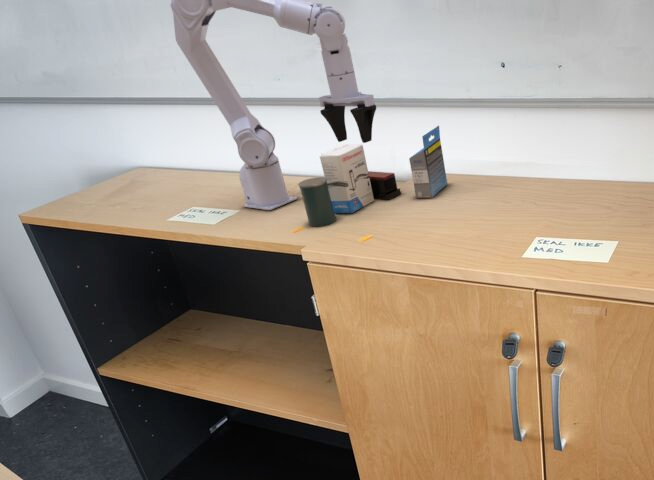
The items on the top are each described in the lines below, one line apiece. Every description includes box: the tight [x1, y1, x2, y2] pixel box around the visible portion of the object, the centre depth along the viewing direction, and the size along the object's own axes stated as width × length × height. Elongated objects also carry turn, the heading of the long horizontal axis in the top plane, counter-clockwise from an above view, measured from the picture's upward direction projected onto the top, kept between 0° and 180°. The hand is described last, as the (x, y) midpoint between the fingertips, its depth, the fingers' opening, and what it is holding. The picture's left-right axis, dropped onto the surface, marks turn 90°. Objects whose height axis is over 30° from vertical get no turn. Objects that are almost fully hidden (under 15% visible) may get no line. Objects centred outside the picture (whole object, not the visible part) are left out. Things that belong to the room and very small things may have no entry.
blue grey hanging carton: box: [408, 125, 448, 199], centre depth 139 cm, size 9×4×12 cm, turn 160°
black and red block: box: [368, 170, 402, 201], centre depth 144 cm, size 12×4×5 cm, turn 53°
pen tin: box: [298, 176, 337, 228], centre depth 132 cm, size 5×5×8 cm
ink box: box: [319, 143, 375, 214], centre depth 137 cm, size 9×5×12 cm, turn 153°
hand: (354, 141), depth 146 cm, fingers open, 7 cm apart
